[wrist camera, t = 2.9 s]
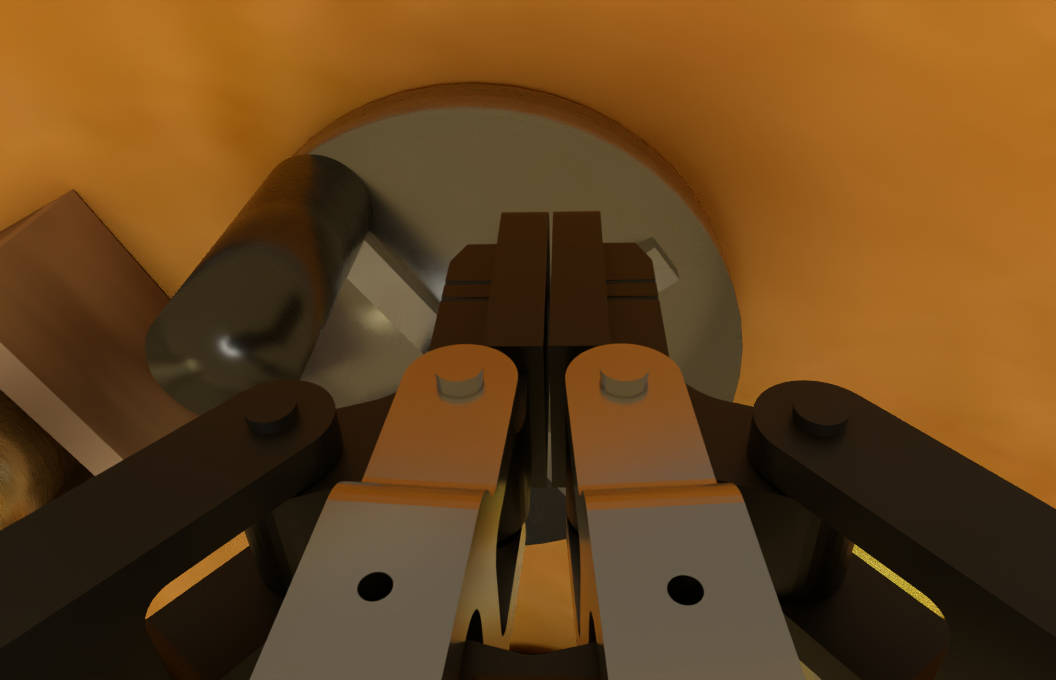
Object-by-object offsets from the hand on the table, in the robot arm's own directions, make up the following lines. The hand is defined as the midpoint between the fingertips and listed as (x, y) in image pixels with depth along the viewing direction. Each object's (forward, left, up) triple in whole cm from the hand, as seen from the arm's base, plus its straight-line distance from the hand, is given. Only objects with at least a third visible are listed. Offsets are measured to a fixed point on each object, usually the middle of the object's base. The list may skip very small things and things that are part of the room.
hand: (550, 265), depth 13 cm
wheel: (-4, +4, -8) cm, 10 cm away
